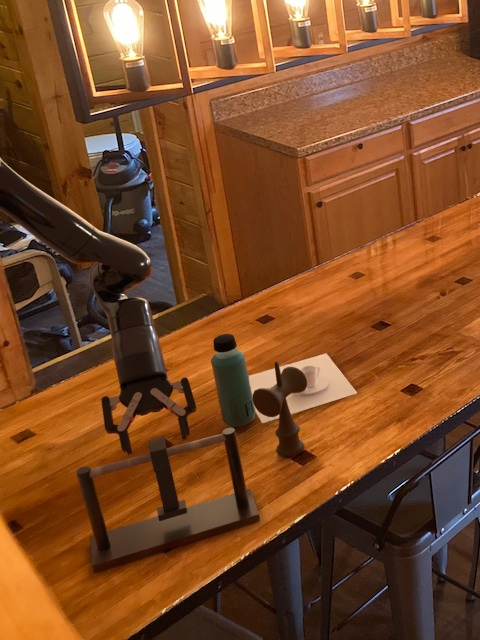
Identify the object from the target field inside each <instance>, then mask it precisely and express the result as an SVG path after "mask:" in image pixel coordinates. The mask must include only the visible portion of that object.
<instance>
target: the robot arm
mask: <svg viewBox="0 0 480 640" xmlns="http://www.w3.org/2000/svg"><path fill="white" fill-rule="evenodd" d="M0 211H1V212H3V213H4V214H5V215H6V216H8V217H9V218H11V219H12V220H13V221H14V222H15V223H16V224H18V225H20V226H21V227H22V228H23V229H24V230H25V231H27V232H28V233H29V234H31V235H32V236H33V237H35V238H36V239H37V240H39V241H40V242H41V243H43V244H44V245H45V246H46V247H48V248H50V249H51V250H52V251H54V252H55V253H57V254H58V255H60V256H61V257H63V259H65V260H67V261H69V262H70V263H72V264H74V265H84V264H85V265H86V264H89V263H93V264H92V265H91V267H90V269H89V272H88V282H89V286H90V288H91V290H92V291H93V294H94V296H95V297H96V299H97V300H98V303H99V305H100V307H101V308H102V310H103V311H104V314H105V315H106V318H107V323H108V328H109V330H110V337H111V349H112V354H113V360H114V364H115V365H114V366H115V369H116V374H117V379H118V384H119V390H120V392H119V395H116V396H111V397H109V396H106V395H105V396H103V397H101V401H100V402H101V408H102V417H103V424H104V425H103V426H104V430H105V431H106V434H109V435H110V434H111V435H112V434H116V435H117V436H118V438H119V442H120V443H119V444H120V448H121V451H122V452H123V453H127V455H128V456H131V455H133V454H134V452H133V448H132V443H131V438H130V434H129V428H130V427H131V425H132V423H133V422H134V421H135V418H136V417H137V416H140V417H143V416H147V415H149V414H151V413H159V412H161V411H162V410H163V409H165V410H167V412H170V413H172V415H175V416H176V417H177V421H178V426H179V430H180V436H181V439H182V442H183V441H187V440H188V437H189V436H190V435H191V430H190V426H189V421H188V417H189V416H190V415H192V414H195V413H196V412H197V404H196V401H195V397H194V393H193V391H192V388H191V384H190V381H189V379H188V377H182V378H181V379H180V380H178V381H173V382H171V381H170V379H169V377H168V374H167V373H168V372H167V369H166V364H165V359H164V356H163V349H162V347H161V341H160V338H159V336H158V333H157V330H156V327H155V321H154V318H153V317H154V316H153V313H152V309H151V305H150V303H149V302H148V301H147V299H145V298H144V297H143V298H142V297H136V296H135V297H134V296H133V297H128V295H127V291H129V290H131V289H134V288H135V287H137V286H139V285H141V284H142V283H145V282H146V281H147V280H149V279H150V277H151V275H152V273H153V264H152V261H151V259H150V257H149V256H148V255H147V253H146V252H145V250H142V249H141V248H140V247H139V246H137V245H135V244H134V243H131V242H129V241H127V240H124V239H122V238H119V237H116V236H115V235H112V234H110V233H107V232H104V231H101V230H99V229H98V228H96V227H95V226H94V225H93V224H91V223H90V222H88V221H87V220H86V219H84V218H83V217H82V216H80V215H79V214H78V213H76V212H75V211H73V210H72V209H70V208H69V207H67V206H66V205H64V204H63V203H62V202H61V201H58V200H56V199H55V198H53V197H52V196H50V195H49V194H47V193H46V192H44V191H42V190H41V189H39V188H38V187H36V186H35V185H33V184H32V183H30V182H29V181H28V180H26V179H25V178H23V177H22V176H21V175H20V174H18V173H17V172H16V171H15V170H13V169H12V168H11V167H10V166H8V164H7V163H6V162H4V160H3V159H2V158H0ZM174 390H176V391H177V392H178V393H179V394H183V395H184V399H185V401H186V404H187V406H185V407H182V406H180V405H179V404H178V403H177V402H176V401H174V400H173V399H171V398H170V397H171V396H172V394H173V391H174ZM119 404H121V405H123V406H124V407H125V408H126V410H125V411H124V413H123V415H122V418H121V420H120V422H119V423H118V424H114V415H113V411H115V410H116V409H117V405H119Z"/></svg>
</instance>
